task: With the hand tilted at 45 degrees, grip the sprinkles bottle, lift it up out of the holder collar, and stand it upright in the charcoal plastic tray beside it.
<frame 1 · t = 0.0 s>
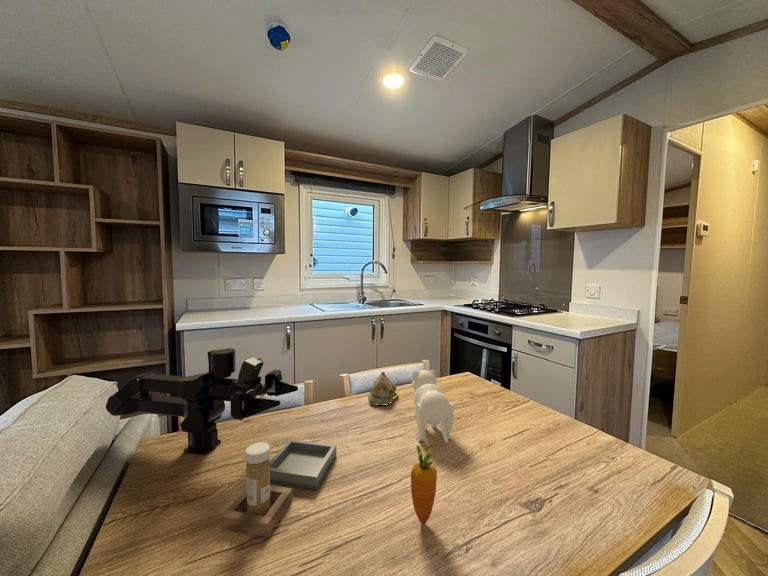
hand: (289, 395, 81), 17 cm above the table, tool horizontal, fingers open, 9 cm apart
sprinkles bottle: (258, 514, 64), resting in holder collar
cat figurine: (431, 434, 95), on the table
holder collar: (258, 513, 64), on the table
tray: (301, 468, 78), on the table
ceramic model: (382, 399, 120), on the table
carrot: (423, 524, 61), on the table
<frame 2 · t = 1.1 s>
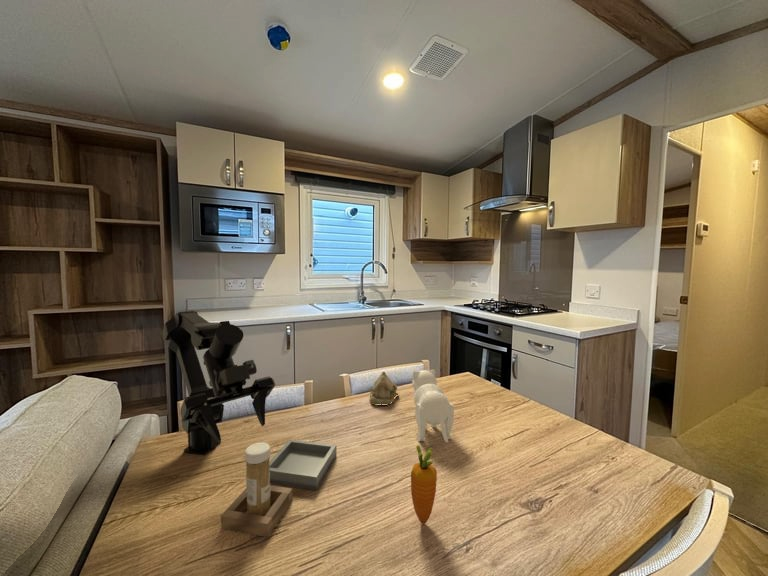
hand: (242, 432, 68), 14 cm above the table, tool tilted 45°, fingers open, 9 cm apart
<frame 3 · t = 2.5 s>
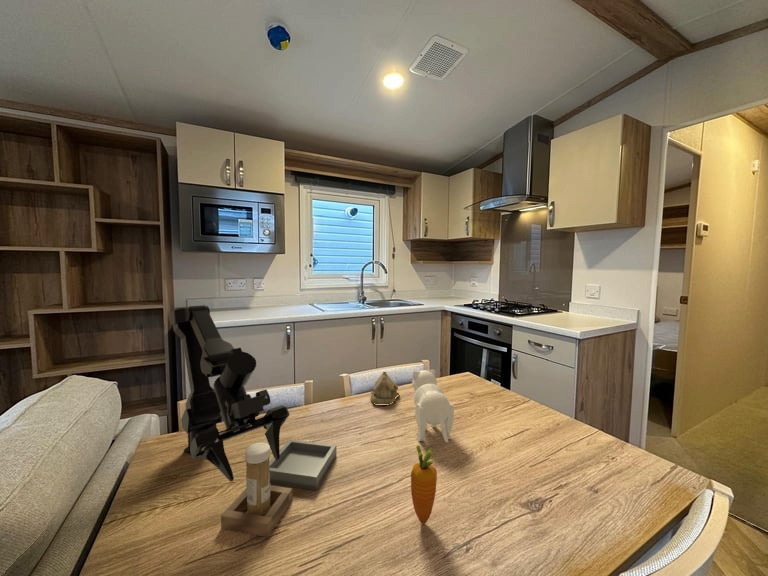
hand: (256, 469, 64), 9 cm above the table, tool tilted 45°, fingers open, 9 cm apart
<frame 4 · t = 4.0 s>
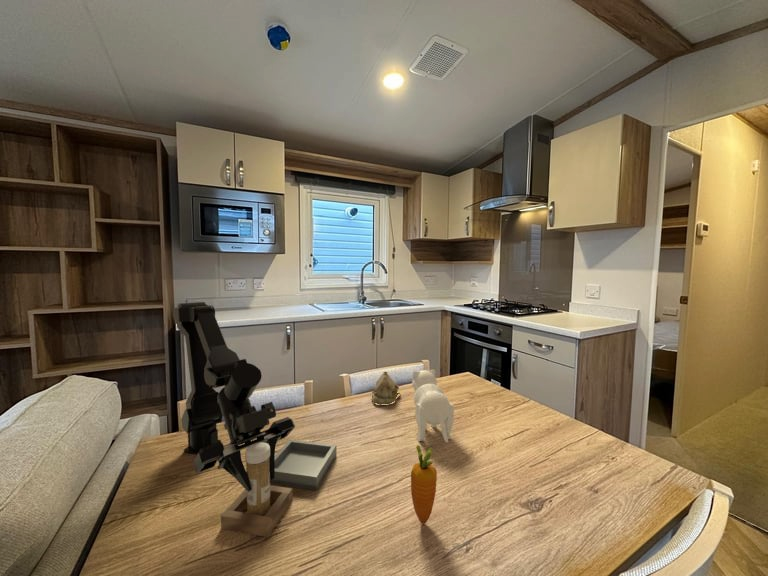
hand: (261, 484, 62), 7 cm above the table, tool tilted 45°, fingers closed on sprinkles bottle, 4 cm apart
sprinkles bottle: (258, 514, 64), resting in holder collar, touching gripper
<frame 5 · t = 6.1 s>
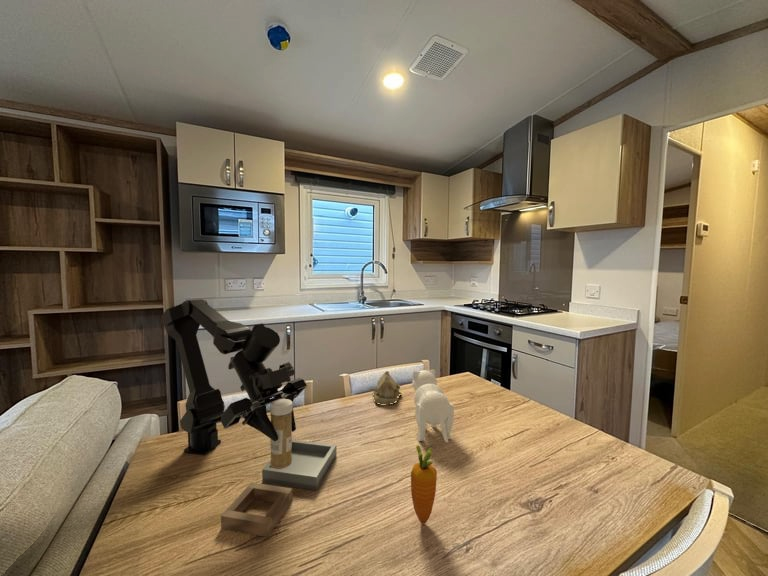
hand: (285, 435, 68), 13 cm above the table, tool tilted 45°, fingers closed on sprinkles bottle, 4 cm apart
sprinkles bottle: (280, 464, 69), point 6 cm above the table, touching gripper
when the fingers open (9 cm above the table, at t = 8.2 s): sprinkles bottle drops 1 cm, resting on tray.
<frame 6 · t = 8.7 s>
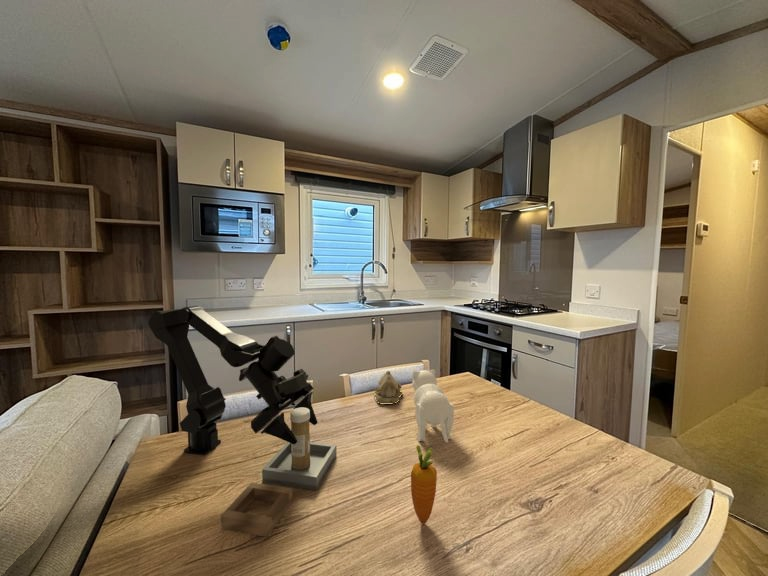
hand: (306, 433, 77), 9 cm above the table, tool tilted 45°, fingers open, 9 cm apart
sprinkles bottle: (300, 465, 78), point 1 cm above the table, touching tray
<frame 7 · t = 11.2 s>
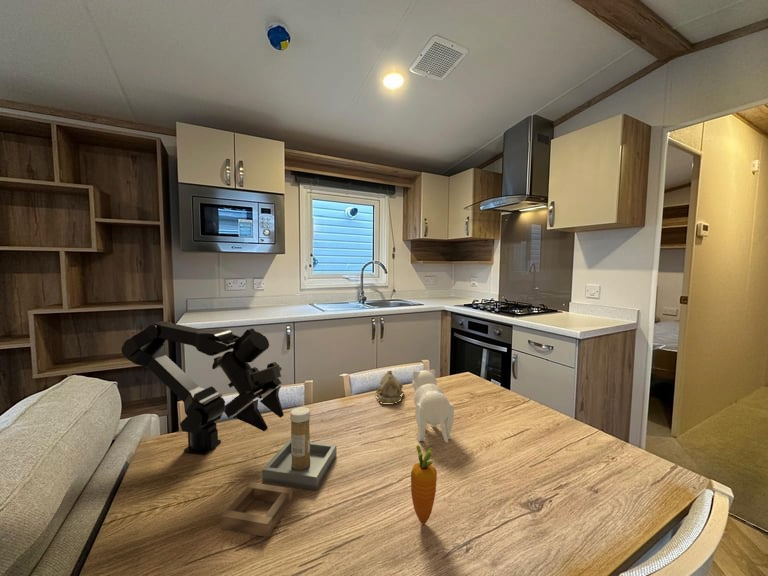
hand: (274, 422, 81), 10 cm above the table, tool tilted 40°, fingers open, 9 cm apart
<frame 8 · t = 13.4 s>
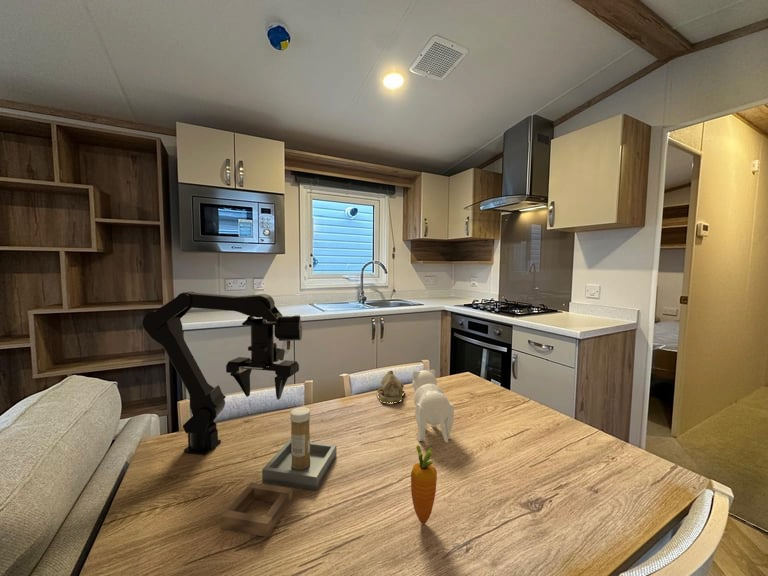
hand: (263, 397, 88), 13 cm above the table, tool pointing down, fingers open, 9 cm apart
at the end: sprinkles bottle inside the target area on the tray (0.3 cm from its centre), point 0.8 cm above the tray's base; sprinkles bottle tilted 0°; the gripper is holding nothing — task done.
